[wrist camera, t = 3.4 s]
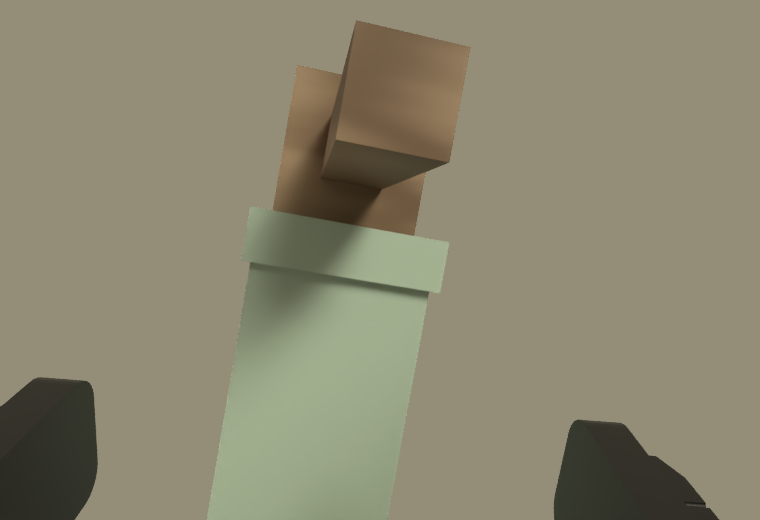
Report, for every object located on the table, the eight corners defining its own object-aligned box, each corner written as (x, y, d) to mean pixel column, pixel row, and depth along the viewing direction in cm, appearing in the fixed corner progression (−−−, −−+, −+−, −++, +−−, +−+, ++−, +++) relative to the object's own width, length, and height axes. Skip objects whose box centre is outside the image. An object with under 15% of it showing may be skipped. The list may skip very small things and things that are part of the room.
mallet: (391, 233, 30) (412, 121, 29) (506, 249, 13) (555, -12, 13) (278, 213, 29) (298, 97, 29) (244, 202, 12) (291, -80, 12)
